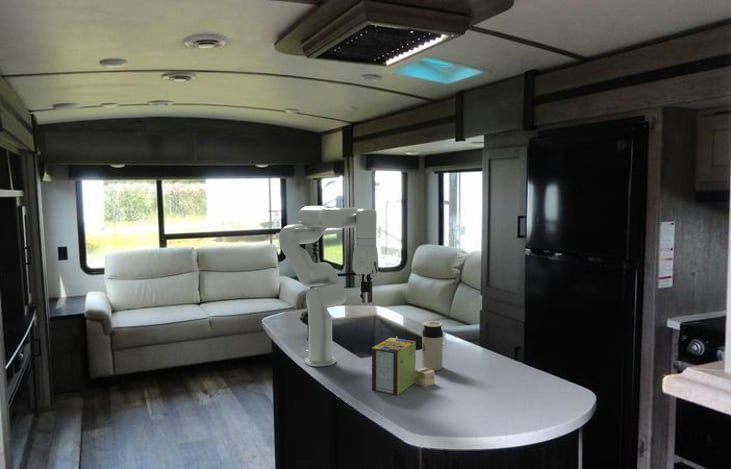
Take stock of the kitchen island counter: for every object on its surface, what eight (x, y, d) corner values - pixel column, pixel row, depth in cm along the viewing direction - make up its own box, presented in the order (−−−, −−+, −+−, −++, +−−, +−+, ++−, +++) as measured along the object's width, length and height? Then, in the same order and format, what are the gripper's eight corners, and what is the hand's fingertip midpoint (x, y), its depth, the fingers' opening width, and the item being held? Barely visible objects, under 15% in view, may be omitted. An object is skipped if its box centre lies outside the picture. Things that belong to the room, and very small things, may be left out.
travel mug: (441, 365, 221) (442, 321, 220) (442, 371, 213) (443, 326, 212) (421, 364, 222) (422, 320, 221) (422, 370, 214) (422, 325, 213)
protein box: (415, 382, 202) (416, 340, 201) (397, 395, 189) (397, 351, 187) (390, 377, 207) (390, 336, 206) (370, 390, 194) (371, 347, 192)
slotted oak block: (414, 383, 201) (415, 369, 200) (424, 380, 204) (424, 366, 204) (424, 387, 197) (425, 373, 197) (434, 384, 200) (434, 370, 200)
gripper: (345, 241, 205) (345, 289, 206) (371, 245, 193) (371, 296, 195) (360, 240, 209) (360, 287, 211) (387, 243, 198) (386, 293, 200)
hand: (365, 291), depth 203 cm, fingers closed
